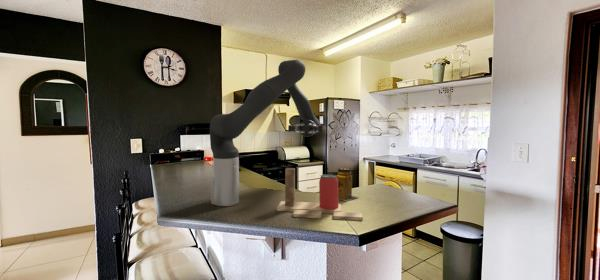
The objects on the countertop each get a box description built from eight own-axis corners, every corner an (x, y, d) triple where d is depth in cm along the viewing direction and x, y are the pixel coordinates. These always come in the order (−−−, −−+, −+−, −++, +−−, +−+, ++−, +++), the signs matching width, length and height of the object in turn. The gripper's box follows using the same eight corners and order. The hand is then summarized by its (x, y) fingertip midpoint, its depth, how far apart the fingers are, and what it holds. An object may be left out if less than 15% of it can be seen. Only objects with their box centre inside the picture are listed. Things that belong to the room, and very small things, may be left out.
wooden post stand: (276, 210, 90) (276, 170, 89) (281, 203, 98) (281, 166, 97) (341, 213, 87) (342, 172, 87) (340, 206, 95) (341, 168, 94)
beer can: (336, 213, 88) (336, 177, 87) (317, 211, 90) (317, 177, 89) (339, 207, 94) (339, 174, 93) (321, 205, 96) (321, 173, 95)
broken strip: (292, 216, 84) (293, 213, 84) (294, 212, 88) (294, 209, 88) (362, 220, 82) (362, 217, 82) (361, 216, 86) (361, 213, 86)
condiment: (332, 197, 107) (332, 168, 107) (346, 194, 112) (346, 166, 112) (345, 201, 101) (345, 170, 101) (359, 198, 107) (360, 168, 106)
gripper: (292, 119, 120) (286, 119, 104) (323, 119, 118) (322, 119, 102) (292, 136, 121) (286, 137, 104) (323, 136, 119) (321, 138, 103)
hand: (304, 128), depth 103 cm, fingers open, 8 cm apart
